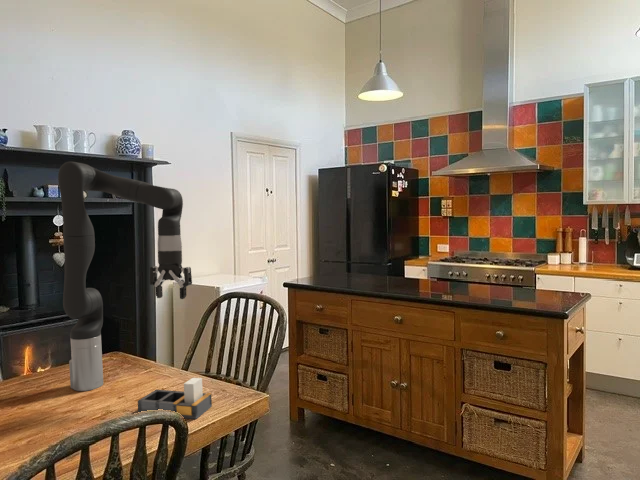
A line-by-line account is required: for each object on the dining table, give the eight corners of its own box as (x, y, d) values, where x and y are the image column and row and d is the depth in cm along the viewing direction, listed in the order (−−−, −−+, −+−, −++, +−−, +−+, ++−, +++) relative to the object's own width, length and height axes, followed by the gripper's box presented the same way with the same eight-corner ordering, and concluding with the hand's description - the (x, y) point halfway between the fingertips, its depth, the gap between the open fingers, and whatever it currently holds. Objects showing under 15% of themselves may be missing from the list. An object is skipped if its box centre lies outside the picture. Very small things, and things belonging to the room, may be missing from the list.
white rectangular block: (185, 411, 134) (183, 383, 133) (193, 404, 138) (192, 377, 138) (194, 411, 133) (193, 384, 132) (203, 405, 138) (202, 378, 137)
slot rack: (137, 414, 134) (136, 400, 134) (156, 401, 143) (156, 388, 143) (195, 419, 130) (194, 405, 129) (211, 406, 138) (211, 392, 138)
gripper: (143, 249, 152) (145, 299, 153) (183, 250, 148) (184, 301, 149) (157, 248, 159) (158, 295, 160) (195, 248, 155) (196, 297, 156)
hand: (171, 298), depth 154 cm, fingers open, 8 cm apart
